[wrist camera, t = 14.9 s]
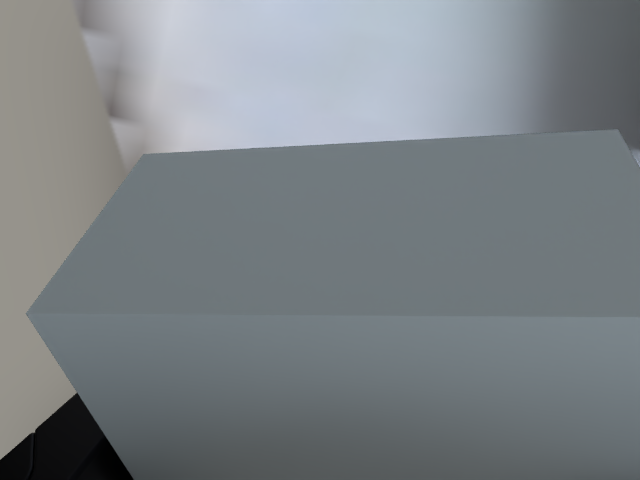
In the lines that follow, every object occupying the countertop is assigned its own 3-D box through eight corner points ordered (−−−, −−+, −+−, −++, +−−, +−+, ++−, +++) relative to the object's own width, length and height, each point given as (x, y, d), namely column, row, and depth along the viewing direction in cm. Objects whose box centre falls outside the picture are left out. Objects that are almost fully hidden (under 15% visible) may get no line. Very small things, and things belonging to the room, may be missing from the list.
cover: (549, 455, 11) (583, 637, 9) (251, 440, 12) (210, 597, 10) (617, 129, 7) (724, 317, 4) (143, 154, 8) (25, 313, 5)
